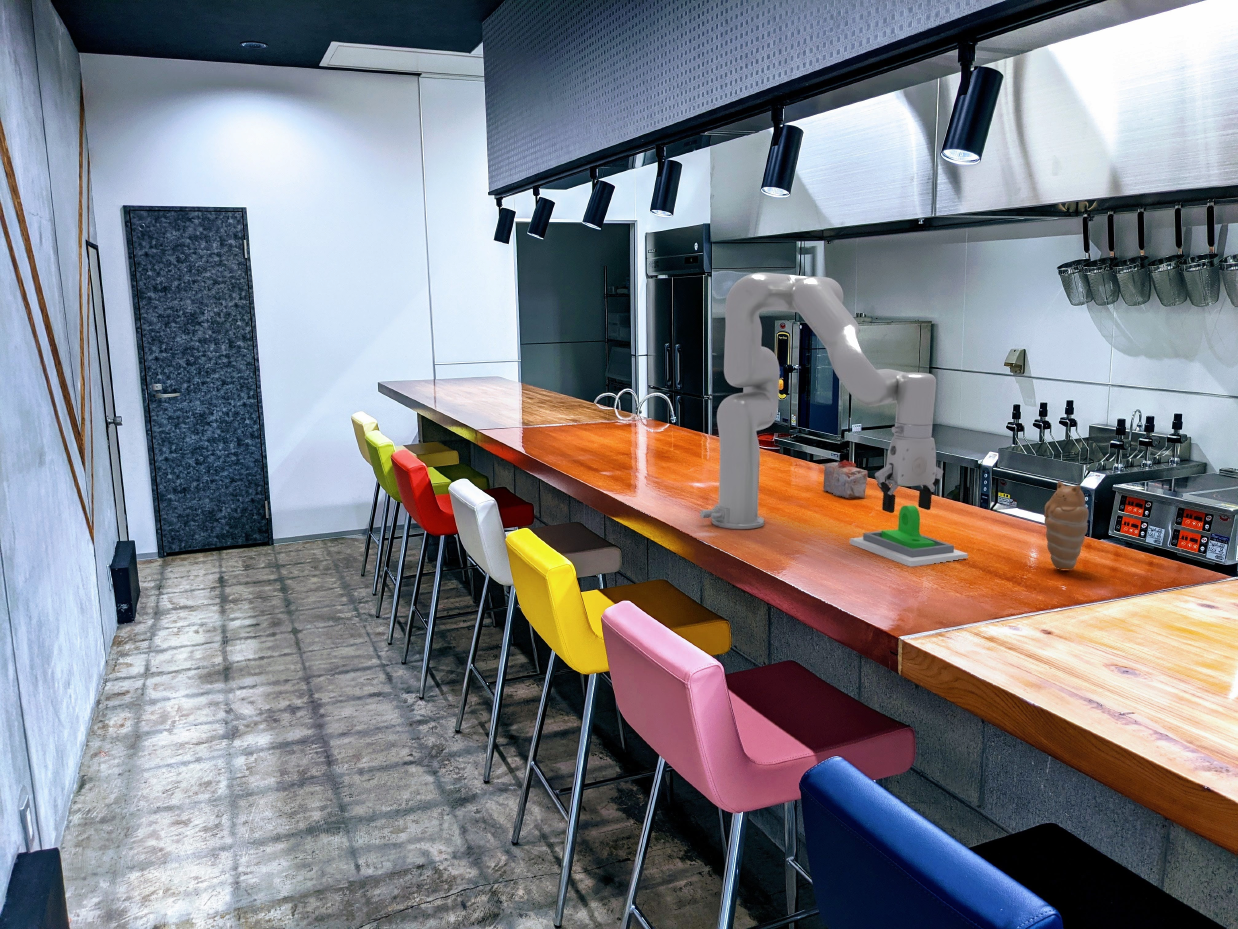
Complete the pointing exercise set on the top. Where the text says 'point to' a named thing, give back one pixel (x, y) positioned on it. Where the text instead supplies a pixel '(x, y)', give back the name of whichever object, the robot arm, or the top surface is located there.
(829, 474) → the food item
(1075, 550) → the cat ice cream
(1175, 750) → the top surface
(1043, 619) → the top surface
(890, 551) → the socket board
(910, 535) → the mechanical part
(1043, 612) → the top surface
